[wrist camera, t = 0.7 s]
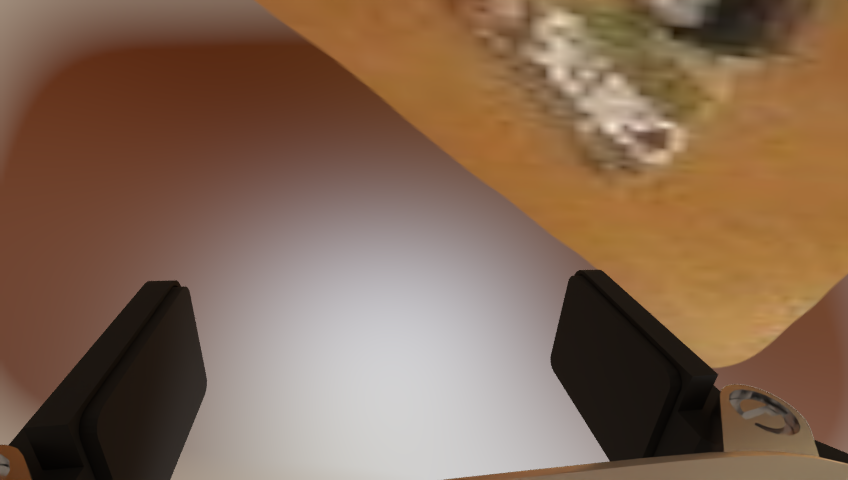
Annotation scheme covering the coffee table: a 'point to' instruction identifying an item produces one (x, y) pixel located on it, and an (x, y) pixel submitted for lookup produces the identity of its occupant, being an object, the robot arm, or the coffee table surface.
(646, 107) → the coffee table surface
